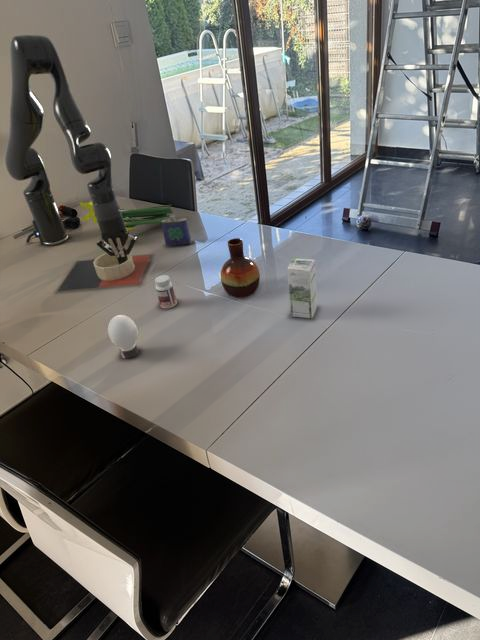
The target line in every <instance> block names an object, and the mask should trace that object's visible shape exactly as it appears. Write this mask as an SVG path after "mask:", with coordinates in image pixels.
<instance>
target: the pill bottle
mask: <svg viewBox="0 0 480 640" xmlns="http://www.w3.org/2000/svg"><path fill="white" fill-rule="evenodd" d="M154 283H155V291H156V295H157V297H158V302H159V305H160V307H161V308H162V309H171V308H173V307H176V305H177V304H178V302H177V297H176V294H175V289H174V286H173V283H172V282H171V279H170V276H169V275H166V274H162V275H159V276H157V277H155V278H154Z"/></svg>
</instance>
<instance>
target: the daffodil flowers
mask: <svg viewBox="0 0 480 640" xmlns="http://www.w3.org/2000/svg"><path fill="white" fill-rule="evenodd" d="M78 203H79V205H80V206H81V207H82V208H84V209H86V210H88V211H90V212H88V213H87V214H86V215H85V216H83V217H82V218H81V219H80V221H88V220H90V219H92V224H93V225H95V224H96V223H98V221H97V218H96V216H95V212H94V209H93V204H92V200H91V201H89V202H88V203H86V202H83V201H82V202H80V201H79V202H78ZM171 207H172V204H165V205H156V206H150V207H149V206H148V207H142V208H132V209H123V208H120V210H121V213H122V216H123V220H124V223H125V227H126V230H127V231H128V232H129V231H132V230H137V227H136V226H145V225H158V224H161V221H162V220H165V219H167V220H168V219H171V215H170V214H173V210H172V208H171Z"/></svg>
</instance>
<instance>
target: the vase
mask: <svg viewBox="0 0 480 640" xmlns="http://www.w3.org/2000/svg"><path fill="white" fill-rule="evenodd" d="M227 247H228V251H229V255H230V256H229V257H230V258H229V259H227V260H226V261H225V262H224V264H223V265H222V266H221V270H220V274H219V275H220V283H221V286H222V288H223V289H224V291H225V292H226V293H227V294H228V295H229V296H230V297H233V298H237V299H242V298H243V299H244V298H247V297H250V296H252V295H254V293H256V291H257V290H258V288H259V286H260V282H261V281H260V280H261V274H260V269H259V267H258V265H257V264H256V262H254V260H253V259H251V258H249V257H247V256H245V253H244V242H243V239H242V238H239V237H238V238H237V237H234V238H231V239H229V240H228V241H227Z"/></svg>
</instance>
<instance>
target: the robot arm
mask: <svg viewBox="0 0 480 640" xmlns="http://www.w3.org/2000/svg"><path fill="white" fill-rule="evenodd" d="M9 59H10V76H11V92H10V93H11V94H10V106H9V130H8V139H7V145H6V149H5V157H4V164H5V168H6V171H7V173H8V175H9V176H10V177H11V179H13V180H15V181H19V182H20V181H26V180H29V179H30V181H29V183H28V185H27V186H26V187H25V188H24V189H23V191H22V194H23V197H24V199H25V202H26V204H27V206H28V209H29V211H30V214H31V216H32V220H31V223H32V226H33V228H34V229H33V230H32V232H31V233H30V234H29V235H28V236H27V238H26V241H25V242H26V243H27V244H29V243H30V241H31V238H33V236H34V237H35V239H37V238H38V240H39V241H40V244H41V246H43V245H44V246H55V245H59V244H62V243H64V242H66V241H68V239H69V234H68V233H67V229H66V227H65V225H64V222H63V219H62V217H61V214H60V211H59V209H58V207H57V206H58V205H57V203H56V201H55V198H54V195H53V193H52V190H51V183H50V181H49V180H50V179H49V177H48V174H47V171H46V168H45V164H44V162H43V160H42V158H41V155H40V154H39V152H38V150H36V149H35V148H33V147H32V145H33V144H34V143H35V142H36V141H37V139H38V138H39V136H40V134H41V132H42V129H43V124H44V116H45V114H44V113H45V112H44V107H43V105H42V103H41V101H40V99H39V98H38V96H37V95H36V93H35V92H34V91H33V89H32V88H31V86H30V78H31V76H32V75H34V76H35V75H48V76H50V78H51V80H52V83H53V87H54V88H53V89H54V91H53V99H52V100H53V101H52V109H53V116H54V117H55V120H56V122H57V124H58V126H59V128H60V129H61V131H62V134H63V135H64V137H65V140H66V143H67V146H68V150H69V154H70V159H71V160H70V161H71V163H72V166H73V168H74V170H76V171H77V173H79V174H82V175H87V174H91V173H94V172H98V174H97V175H96V176H95V177H94V178H93V179H91V180H89V181H88V183H86V188H87V191H88V194H89V197H90V200H91V201H92V204H93V209H94V212H95V216H96V218H97V224H98V227H99V231H100V233H101V235H100V237H101V238H100V239H99V240H97V242H96V246H97V247H98V248H99V249H101V250H102V251H104V252H105V253H108V254H109V255H110V256H116V257H117V259H118V262H119V265H120V264H122V263H124V262H126V261H127V260H128V258H127V255H129V254H130V253H131V251H132V250H133V248H134V246H135V244H136V242H137V240H138V236H137V235H134V236H133V235H131V234H130V232H129V231H127V230H126V228H127V227H125V223H124V220H123V219H124V218H123V216H122V213H121V210H120V209H121V207H120V204H119V201H118V198H117V196H116V193H115V188H114V185H113V180H112V156H111V152H110V150H109V148H108V146H106V144H104V143H103V142H101V141H96V142H91V143H89V144H84V145H80V144H82V143H84V142H85V141H87V140H88V139H89V138H90V136H91V128H90V127H89V125H88V122H87V121H86V119H85V117H84V116H83V115H84V114H83V113H82V111H81V110H80V108H79V105H78V103H77V102H76V99H75V97H74V93H73V91H72V89H71V86H70V83H69V80H68V77H67V74H66V72H65V69H64V67H63V63H62V61H61V58H60V56H59V54H58V50H57V48H56V47H55V45H54V43H53V42H52V40H51V39H50V38H49V37H48V36H47V35H41V34H18V35H14V36H12V38H11V40H10V45H9ZM127 241H128V243H129V244H128V246H127V248H126V243H127Z"/></svg>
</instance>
